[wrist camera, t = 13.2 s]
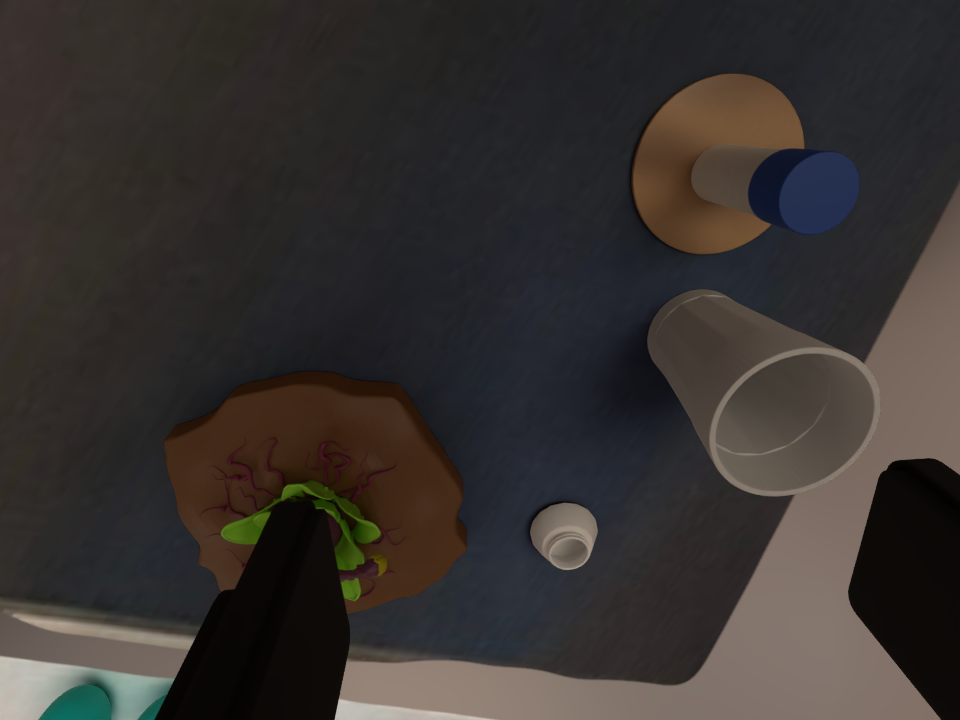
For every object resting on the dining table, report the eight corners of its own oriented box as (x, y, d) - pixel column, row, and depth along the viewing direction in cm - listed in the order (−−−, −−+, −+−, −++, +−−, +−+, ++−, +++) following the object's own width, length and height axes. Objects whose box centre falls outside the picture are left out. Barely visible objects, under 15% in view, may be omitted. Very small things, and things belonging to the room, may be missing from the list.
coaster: (638, 77, 31) (640, 76, 31) (816, 70, 31) (820, 70, 31) (625, 256, 35) (627, 257, 35) (784, 249, 35) (787, 251, 35)
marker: (692, 143, 32) (787, 153, 23) (751, 140, 32) (869, 149, 23) (685, 204, 33) (772, 236, 24) (742, 202, 34) (849, 233, 24)
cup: (712, 251, 35) (830, 311, 24) (777, 338, 38) (910, 429, 26) (611, 332, 37) (676, 423, 26) (678, 410, 39) (764, 523, 28)
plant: (408, 333, 36) (388, 418, 26) (492, 556, 44) (502, 690, 34) (128, 416, 38) (6, 527, 28) (256, 618, 46) (197, 763, 35)
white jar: (524, 548, 44) (586, 554, 44) (528, 576, 41) (595, 583, 42) (536, 496, 42) (601, 503, 42) (542, 522, 39) (611, 529, 40)
